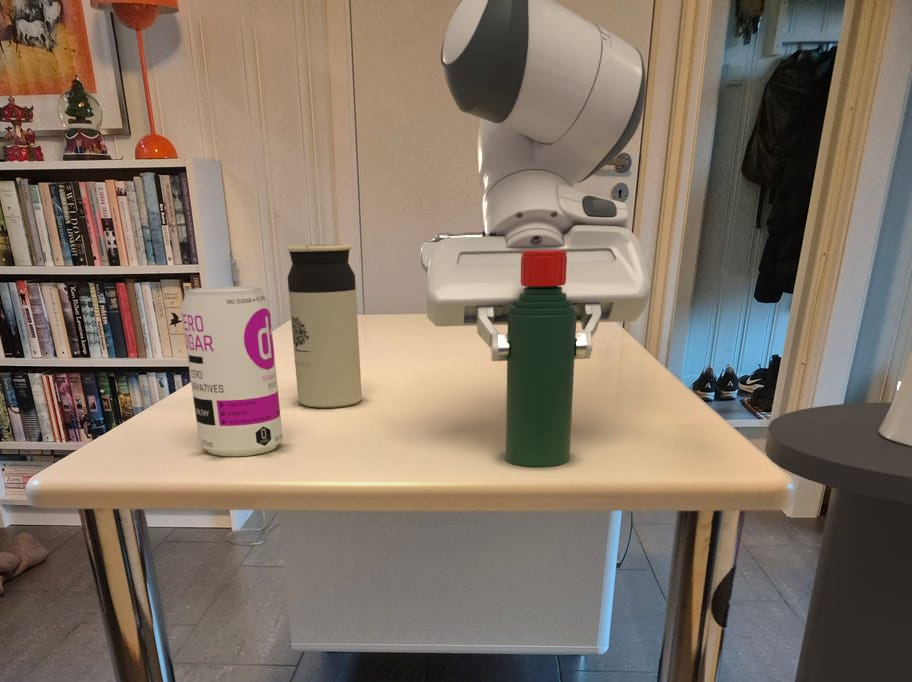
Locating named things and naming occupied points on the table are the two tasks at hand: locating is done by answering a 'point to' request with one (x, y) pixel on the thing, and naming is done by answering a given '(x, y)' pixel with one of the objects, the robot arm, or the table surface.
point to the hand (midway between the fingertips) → (542, 356)
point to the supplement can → (232, 369)
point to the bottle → (540, 377)
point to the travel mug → (324, 325)
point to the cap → (543, 268)
